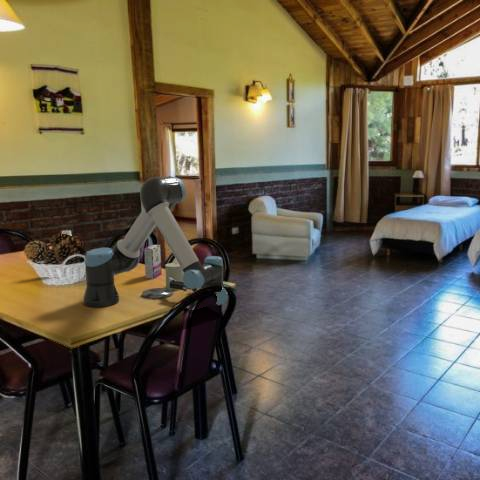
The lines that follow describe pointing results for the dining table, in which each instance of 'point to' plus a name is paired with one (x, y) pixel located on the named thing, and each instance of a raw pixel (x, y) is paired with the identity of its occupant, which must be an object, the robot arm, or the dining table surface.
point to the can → (173, 273)
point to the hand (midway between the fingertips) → (183, 278)
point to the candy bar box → (152, 261)
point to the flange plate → (157, 293)
